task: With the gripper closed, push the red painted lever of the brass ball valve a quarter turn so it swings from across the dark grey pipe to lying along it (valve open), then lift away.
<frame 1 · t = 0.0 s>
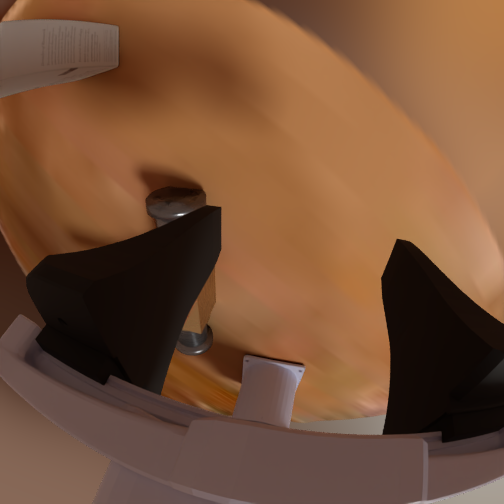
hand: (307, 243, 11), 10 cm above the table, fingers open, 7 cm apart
skincare box: (98, 52, 16), on the table
valve body: (192, 279, 28), on the table
pipe: (191, 272, 27), on the table
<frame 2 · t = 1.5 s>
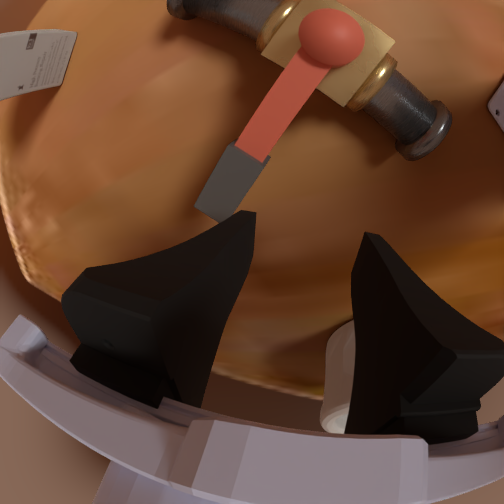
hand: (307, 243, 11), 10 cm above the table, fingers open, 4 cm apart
skincare box: (59, 54, 16), on the table
mug: (377, 334, 27), on the table
lever: (274, 115, 12), point 6 cm above the table, hinge at 90.0°
valve body: (326, 54, 14), on the table
pipe: (313, 46, 13), on the table
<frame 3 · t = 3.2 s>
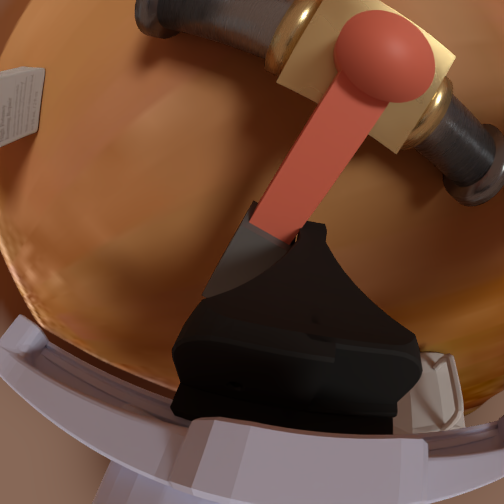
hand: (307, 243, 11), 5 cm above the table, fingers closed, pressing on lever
skincare box: (31, 95, 14), on the table
mug: (414, 369, 23), on the table
lever: (303, 176, 9), point 6 cm above the table, hinge at 88.2°, touching gripper
valve body: (354, 69, 10), on the table
pipe: (337, 59, 10), on the table
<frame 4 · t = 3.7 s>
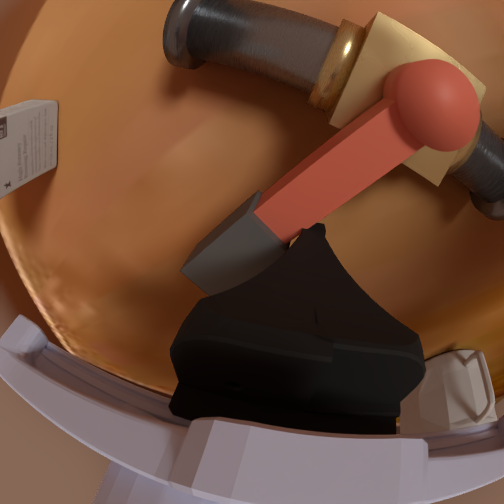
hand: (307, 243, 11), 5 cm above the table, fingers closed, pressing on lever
skincare box: (45, 129, 16), on the table
mug: (445, 367, 22), on the table
lever: (320, 184, 9), point 6 cm above the table, hinge at 64.4°, touching gripper
valve body: (386, 94, 11), on the table
pipe: (369, 85, 11), on the table
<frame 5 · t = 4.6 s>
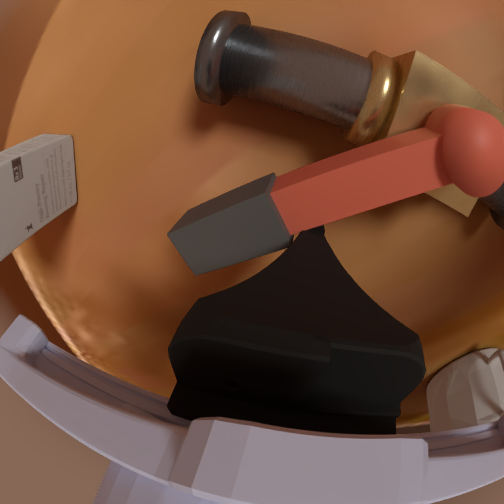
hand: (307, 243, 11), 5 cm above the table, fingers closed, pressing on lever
skincare box: (60, 164, 17), on the table
mug: (469, 365, 21), on the table
lever: (343, 185, 8), point 6 cm above the table, hinge at 41.4°, touching gripper
valve body: (413, 121, 11), on the table
pipe: (397, 113, 11), on the table
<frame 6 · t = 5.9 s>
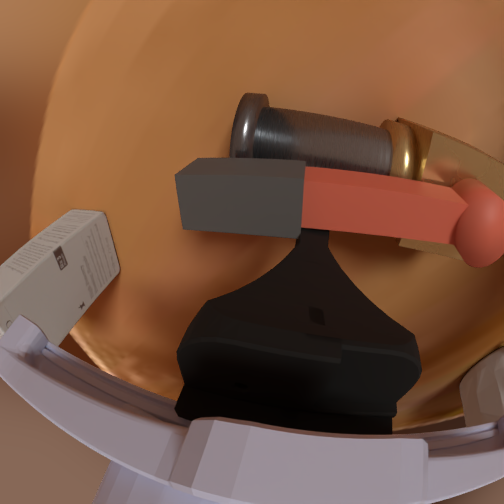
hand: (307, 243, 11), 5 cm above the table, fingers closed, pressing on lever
skincare box: (96, 237, 21), on the table
mug: (496, 360, 20), on the table
lever: (367, 204, 8), point 6 cm above the table, hinge at 5.7°, touching gripper
valve body: (427, 172, 12), on the table
pipe: (413, 167, 12), on the table
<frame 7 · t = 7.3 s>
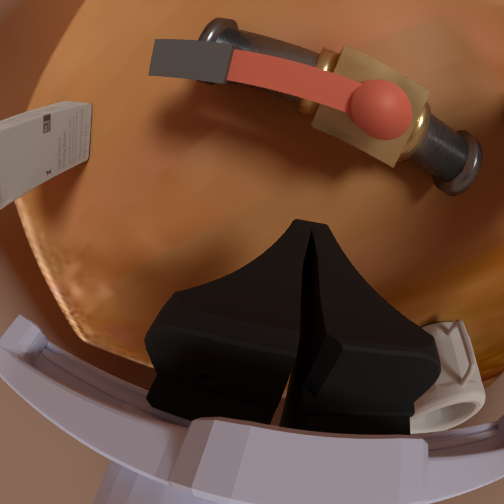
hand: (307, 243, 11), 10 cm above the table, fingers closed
skincare box: (77, 127, 20), on the table
mug: (432, 340, 26), on the table
lever: (279, 74, 10), point 6 cm above the table, hinge at 5.4°
valve body: (359, 101, 15), on the table
pipe: (346, 95, 15), on the table
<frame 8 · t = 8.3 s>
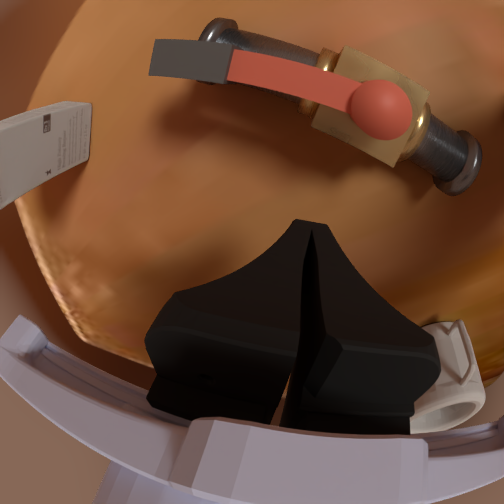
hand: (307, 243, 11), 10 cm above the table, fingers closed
skincare box: (77, 127, 20), on the table
mug: (432, 340, 26), on the table
lever: (279, 74, 10), point 6 cm above the table, hinge at 5.4°
valve body: (359, 101, 15), on the table
pipe: (346, 95, 15), on the table
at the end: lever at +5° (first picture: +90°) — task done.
